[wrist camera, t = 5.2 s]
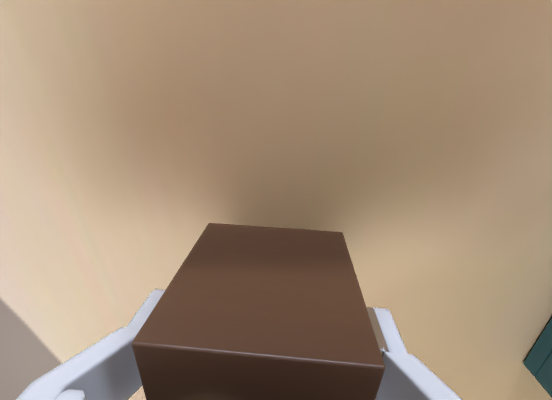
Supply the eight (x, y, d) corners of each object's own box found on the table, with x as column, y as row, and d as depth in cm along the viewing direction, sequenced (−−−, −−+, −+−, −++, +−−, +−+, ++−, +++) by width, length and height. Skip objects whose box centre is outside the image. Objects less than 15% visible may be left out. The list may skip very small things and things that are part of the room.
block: (208, 222, 10) (129, 343, 5) (342, 231, 9) (386, 368, 5) (216, 318, 12) (164, 468, 7) (326, 328, 11) (347, 489, 7)
